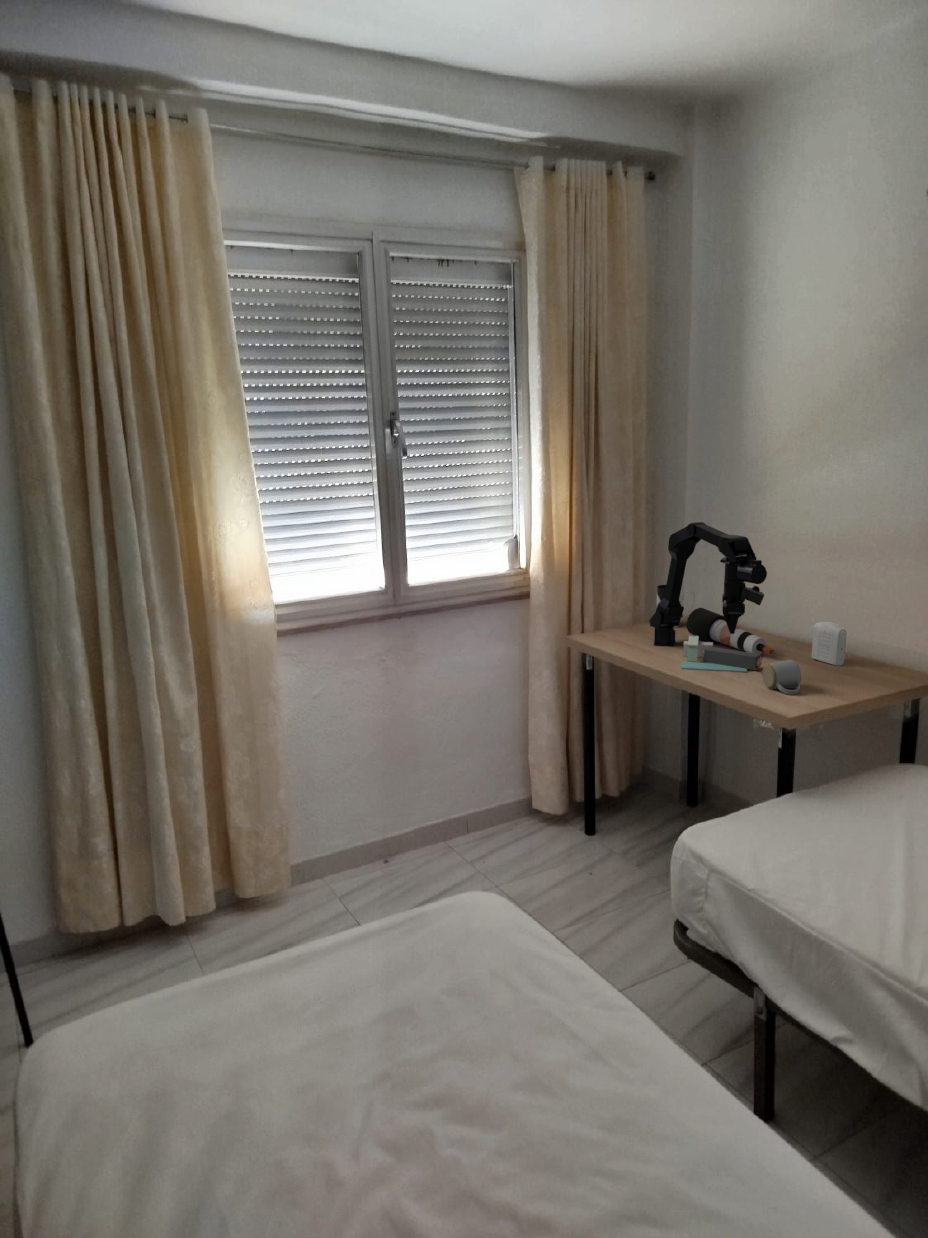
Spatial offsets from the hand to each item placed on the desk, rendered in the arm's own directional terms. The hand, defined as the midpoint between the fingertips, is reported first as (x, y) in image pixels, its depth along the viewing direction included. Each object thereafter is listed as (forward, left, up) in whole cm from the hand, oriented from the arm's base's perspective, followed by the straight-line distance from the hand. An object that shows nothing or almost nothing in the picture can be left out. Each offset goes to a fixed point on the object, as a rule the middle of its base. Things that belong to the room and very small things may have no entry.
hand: (732, 630), depth 240 cm
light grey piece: (-11, +10, -12) cm, 19 cm away
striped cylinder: (+1, +25, -12) cm, 28 cm away
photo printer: (+29, +13, -12) cm, 34 cm away
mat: (-5, 0, -12) cm, 13 cm away
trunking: (-10, +13, -12) cm, 20 cm away
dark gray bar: (0, +3, -11) cm, 12 cm away
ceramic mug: (+14, -18, -12) cm, 26 cm away
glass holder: (-19, +53, -12) cm, 58 cm away
